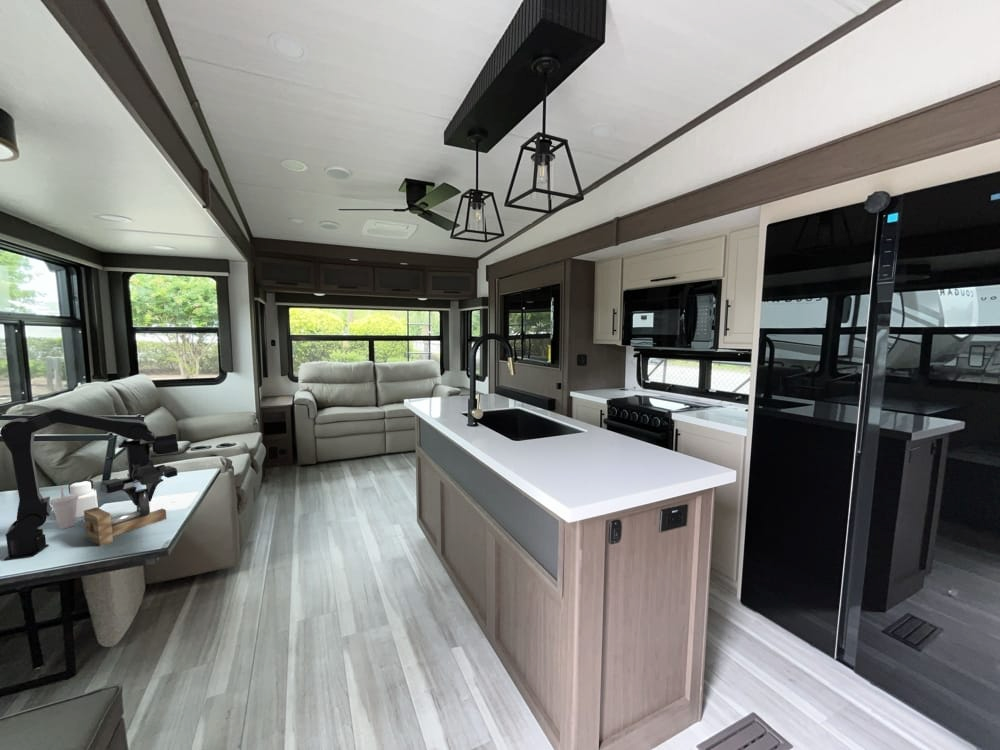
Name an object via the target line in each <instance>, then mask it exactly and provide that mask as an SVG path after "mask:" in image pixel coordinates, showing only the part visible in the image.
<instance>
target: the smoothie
mask: <svg viewBox="0 0 1000 750" xmlns="http://www.w3.org/2000/svg"><path fill="white" fill-rule="evenodd" d="M59 488H60V496H58V497H55V498H52V499H50V506H51V507H52V510H53V512H54V516H55V519H56V523H57V526H58V528H59V529H62V530H63V529H67V528H71V527H73V526H75V525H76V519H77V518H76V506H77V499H78V495H69V494H67V495H64V486H63V485H60V486H59Z"/></svg>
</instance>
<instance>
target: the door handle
mask: <svg viewBox="0 0 1000 750" xmlns="http://www.w3.org/2000/svg"><path fill="white" fill-rule="evenodd" d="M136 496H137V501H138V505H137V506H136V510H135V511H132V512H129V513H126V514H122V515H120V516H116V517H113V518H112V517H111V525H114V524H117V523H120V522H123V521H127V520H130V519H133V518H136V517H139V516H144V515H147V514H149V513H150V512H151V509H150V507H151V506H150V502H149V494H148V489H146V488H141V489H138V490H137V489H136Z"/></svg>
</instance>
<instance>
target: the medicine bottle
mask: <svg viewBox="0 0 1000 750" xmlns="http://www.w3.org/2000/svg"><path fill="white" fill-rule="evenodd" d="M68 493H69V494H68V495H78V499H77V506H76V519H79V518H83V517H84V511H85V510H89V509H92V508H96V507H97V508H99V505H98V495H97V489H94V480H92V479H81V480H75V481H73V482H71V483H70V484H68Z"/></svg>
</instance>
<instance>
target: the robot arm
mask: <svg viewBox="0 0 1000 750" xmlns="http://www.w3.org/2000/svg"><path fill="white" fill-rule="evenodd" d="M57 423H60V424H67V425H72V426H77V427H83V428H88V429H93V430H101V431H106V432H109V433H113V434H115V435H117V436H120V437H123V438H124V439H123V440H121V442H120V443H118V445H117V447H118V449H123V448H125V449H126V450H125V451H126V462H125V464H126V466H127V471H128V473H126V475H127V476H126V477H128V478H125V479H122V480H121V479H119V478H117V477H116V478H111V479H107V480H103V481H101V482H100V484H99V489H100V491H101V492H104V493H105V494H112V493H115V492H119V491H123V492H125V493H126V495H127V496H128V497H129V499H130V500H131V501H132V503H133V504H134V505H135V506H136V507H137V505H138V501H137V496H136V491H137V486H134V484H136V483H139V484H140V485H142V486H145V489H148V494H149V503H150V502H152V499H153V496H154V494H155V490H156V488H157V487H158V485H159V484H160V483H162V482H164V479H162V477H165V478H167V479H169V478H173V477H177V476H178V473H179V472H178V469H177V468H176V467H173V466H171V465H165V464H160V465H157V466H155V465H154V463H153V459H152V460H151V451H152V454H156V456H162V455H169V454H175V453H179V443H178V439H177V433H175V432H172V433H167V434H160V435H156V434H155V433H154V432H152V431H151V430H149V427H148V425H147V423H146V422H145V421H144V420H141V419H130V418H129V419H128V418H112V417H107V416H106V417H105V416H101V415H95V414H90V413H85V412H81V411H76V410H75V411H74V410H70V409H66V408H64V407H54V408H52V409H50V410H48V411H44V412H42V413H38V414H36V415H33V416H30V417H27V418H24V417H20V418H19V417H18V418H14V419H12V420H10V421H8V422H7V423H5V424H4V425H3V426H2V427H1V428H0V436H1V438H2V440H3V442H4V445H5V446H6V448H7V449H8V451H9V452H10V454H11V458H12V465H13V469H14V476H15V482H16V486H17V492H18V498H19V500H18V501H19V502H18V507H17V512H16V520H15V521H14V522H12V524H10V526H9V528H8V530H7V532H6V533H5V537H6V538H5V541H6V545H7V546H6V547H7V553H8V555H7V556H5V557H3V560H4V561H8V560H15V559H22V558H23V559H24V558H32V557H34V556H36V555H37V554H39V553H40V552H42V551H43V550H45V549H47V548H48V547H49V546H50V544H47V540H46V534H45V533H44V530H43V528H40V527H42V526H43V525H44V524H45V523H46V521H47V519H48V516H51V513H52V510H53V507H52V505H51V504H50V501H51V497H50V496H47V497H43V496H42V494H41V491H40V487H39V480H38V475H37V468H36V463H35V456H34V451H33V447H34V446H33V445H34V440H35V434H36V432H38V431H41V430H43V429H45V428H47V427H50V426H51V425H55V424H57ZM128 439H129V440H128ZM140 440H141V441H140ZM150 445H151V449H150ZM150 450H151V451H150Z"/></svg>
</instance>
